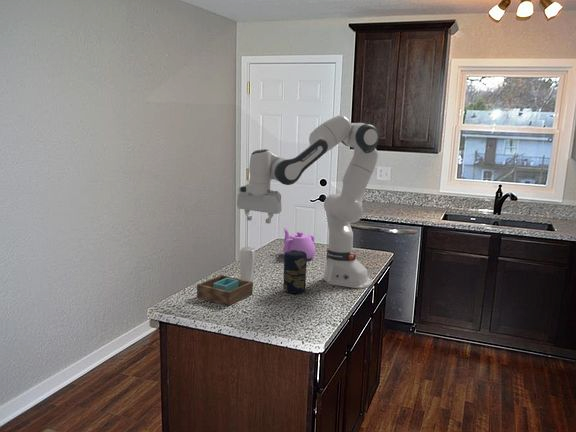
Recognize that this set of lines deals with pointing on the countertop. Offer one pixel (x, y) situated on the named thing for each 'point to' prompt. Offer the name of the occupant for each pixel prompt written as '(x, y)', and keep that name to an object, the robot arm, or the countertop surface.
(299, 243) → the teapot
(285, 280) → the canister
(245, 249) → the white cup
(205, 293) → the walnut crate
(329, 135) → the robot arm
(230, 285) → the teal crate
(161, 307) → the countertop surface
